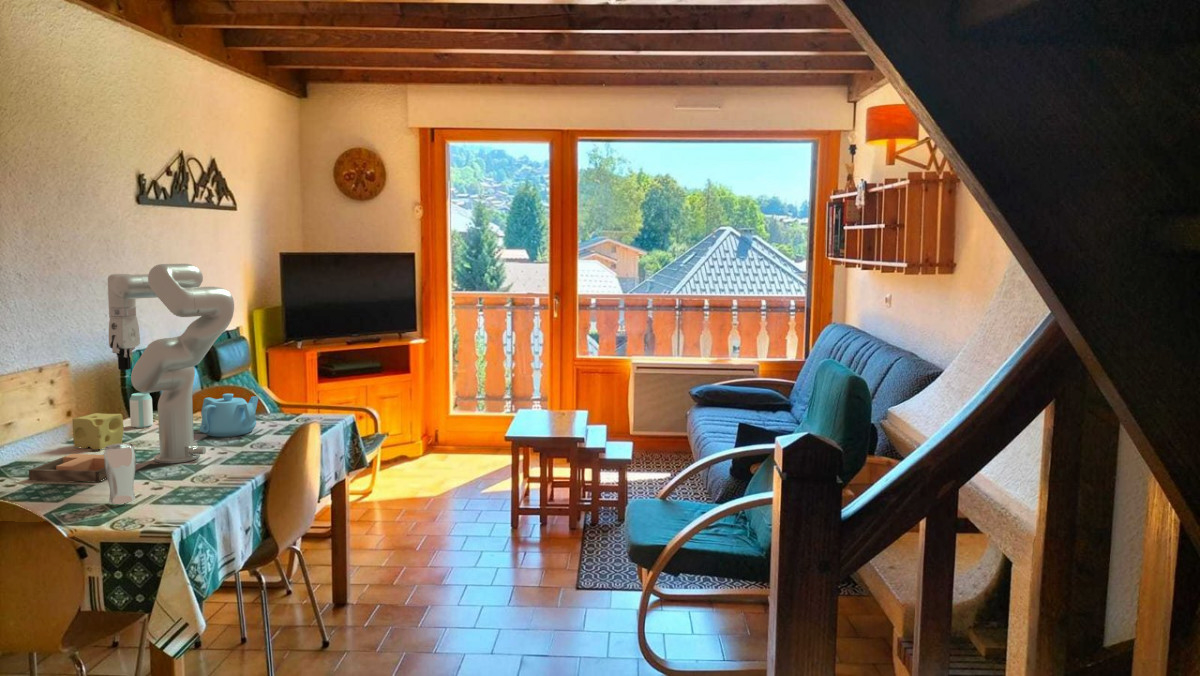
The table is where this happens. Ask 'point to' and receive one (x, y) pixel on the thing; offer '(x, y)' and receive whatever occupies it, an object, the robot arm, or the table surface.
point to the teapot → (228, 416)
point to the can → (141, 410)
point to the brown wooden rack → (64, 473)
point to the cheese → (97, 430)
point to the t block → (82, 462)
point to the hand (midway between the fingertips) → (124, 369)
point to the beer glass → (120, 472)
